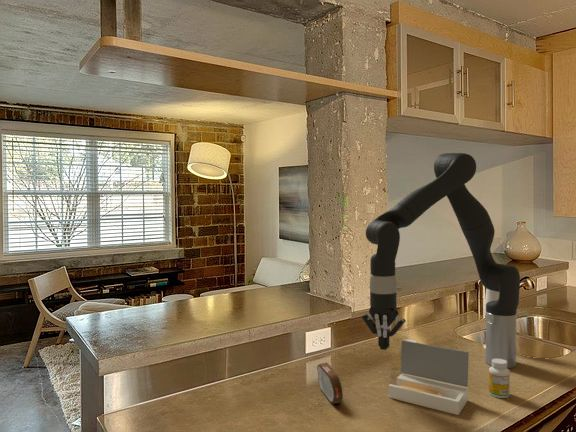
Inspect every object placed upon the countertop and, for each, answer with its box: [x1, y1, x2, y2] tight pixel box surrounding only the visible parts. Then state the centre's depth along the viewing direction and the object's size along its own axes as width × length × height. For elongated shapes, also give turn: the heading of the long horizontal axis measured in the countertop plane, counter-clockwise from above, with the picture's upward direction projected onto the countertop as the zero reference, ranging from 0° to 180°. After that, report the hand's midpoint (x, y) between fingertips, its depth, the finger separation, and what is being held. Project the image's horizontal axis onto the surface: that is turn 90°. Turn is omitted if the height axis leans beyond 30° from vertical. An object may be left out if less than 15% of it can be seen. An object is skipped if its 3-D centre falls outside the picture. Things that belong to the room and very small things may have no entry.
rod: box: [401, 386, 443, 396], centre depth 129 cm, size 3×13×3 cm, turn 58°
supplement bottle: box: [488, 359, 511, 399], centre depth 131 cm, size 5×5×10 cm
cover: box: [400, 339, 470, 388], centre depth 133 cm, size 10×19×1 cm
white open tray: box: [388, 373, 469, 416], centre depth 129 cm, size 10×19×4 cm, turn 55°
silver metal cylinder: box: [483, 288, 499, 349], centre depth 169 cm, size 7×7×24 cm
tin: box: [316, 361, 344, 405], centre depth 132 cm, size 15×3×8 cm, turn 14°
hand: (383, 348), depth 134 cm, fingers closed
